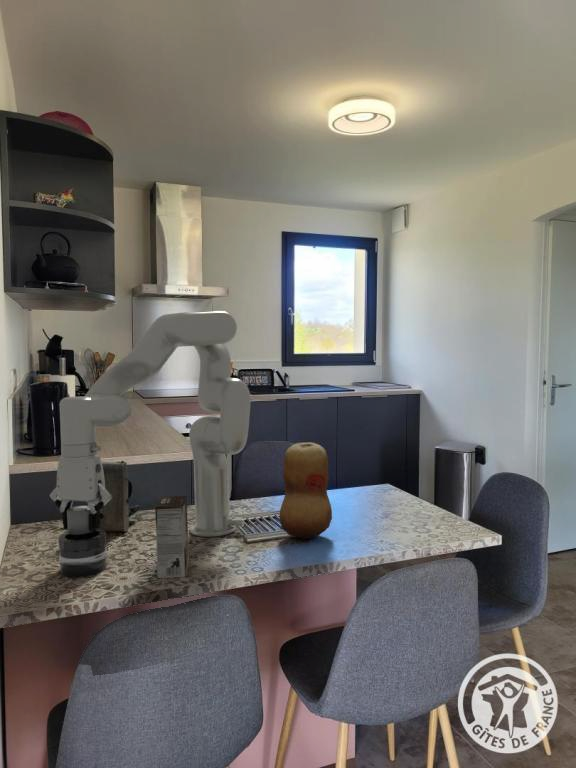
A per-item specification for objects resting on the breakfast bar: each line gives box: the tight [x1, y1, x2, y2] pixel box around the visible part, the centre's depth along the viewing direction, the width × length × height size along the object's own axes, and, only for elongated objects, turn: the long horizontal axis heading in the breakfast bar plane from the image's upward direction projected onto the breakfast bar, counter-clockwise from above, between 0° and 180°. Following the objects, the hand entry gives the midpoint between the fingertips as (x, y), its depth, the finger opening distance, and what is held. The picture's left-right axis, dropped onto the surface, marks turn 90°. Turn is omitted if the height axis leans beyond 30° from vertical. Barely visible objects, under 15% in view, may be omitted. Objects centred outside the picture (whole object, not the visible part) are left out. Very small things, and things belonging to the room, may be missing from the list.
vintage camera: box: [98, 460, 143, 533], centre depth 168 cm, size 10×16×20 cm, turn 174°
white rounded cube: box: [67, 505, 93, 535], centre depth 133 cm, size 6×6×5 cm
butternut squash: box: [279, 441, 333, 540], centre depth 153 cm, size 14×13×25 cm
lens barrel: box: [58, 529, 108, 578], centre depth 134 cm, size 10×10×8 cm
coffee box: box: [155, 495, 190, 579], centre depth 132 cm, size 9×6×16 cm
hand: (81, 528), depth 133 cm, fingers closed on white rounded cube, 5 cm apart
